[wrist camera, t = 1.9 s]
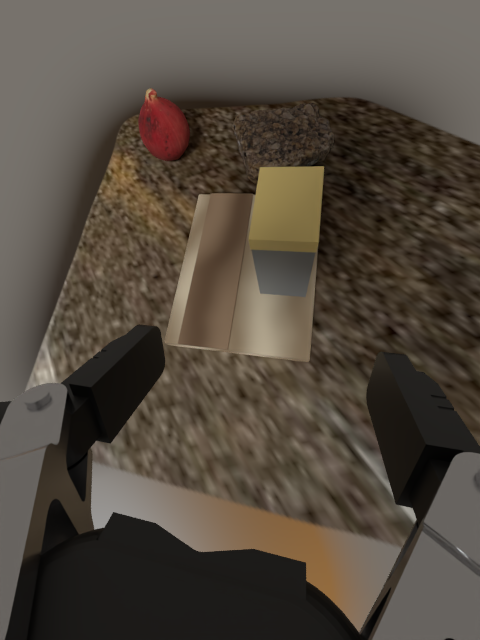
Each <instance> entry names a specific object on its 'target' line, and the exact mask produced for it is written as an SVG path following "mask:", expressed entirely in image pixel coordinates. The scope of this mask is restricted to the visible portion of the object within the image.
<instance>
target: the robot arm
mask: <svg viewBox="0 0 480 640" xmlns="http://www.w3.org/2000/svg"><path fill="white" fill-rule="evenodd" d="M164 367H165V356H164V350H163V344H162V338H161V332H160V329H159V328H158V327H156V326H147V325H137V326H135V327H134V328H133V329H132V330H131V331H129V332H128V333H127V334H126V335H124V336H122V337H120V338H118V339H116V340H114V341H112V342H110V343H109V344H108V345H107V346H105V347H104V348H103V349H102V350H101V352H100V351H99V352H98V353H97V354H96V355H94V356H93V359H92V358H91V359H90V360H88V361H87V362H86V363H85V364H84V365H82V366H81V367H80V368H79V369H78V370H76V371H75V372H74V373H73V374H72V375H70V376H69V377H68V378H67V379H65V380H64V381H63V382H62V383H61V384H60V383H47V384H42V385H39V386H36V387H33V388H31V389H29V390H27V391H25V392H23V393H22V394H20V395H19V396H18V397H16V398H15V399H14V400H13V401H8V402H0V640H480V446H479V445H478V443H477V442H476V440H475V439H474V437H473V436H472V434H471V433H470V431H469V430H468V428H467V427H466V425H465V424H464V422H463V421H462V419H461V418H460V416H459V415H458V413H457V412H456V411H454V407H453V406H452V404H451V403H450V401H449V400H447V399H446V395H445V394H444V393H443V391H442V390H441V388H440V387H439V385H438V384H437V383H436V382H435V381H434V380H432V379H431V378H430V377H429V376H427V375H426V374H425V373H424V372H419V371H416V370H415V368H414V367H413V365H412V363H411V362H410V360H409V358H408V357H407V356H406V355H404V354H395V353H386V352H379V353H378V355H377V357H376V360H375V363H374V367H373V370H372V374H371V377H370V380H369V384H368V387H367V395H366V398H367V406H368V409H369V413H370V416H371V420H372V423H373V427H374V430H375V434H376V437H377V441H378V444H379V447H380V451H381V454H382V458H383V461H384V465H385V468H386V472H387V475H388V479H389V482H390V485H391V489H392V492H393V496H394V499H395V503H396V504H397V505H401V506H406V507H411V508H413V510H414V513H415V516H416V519H417V520H416V522H415V524H414V525H413V527H412V529H411V531H410V533H409V535H408V537H407V540H406V542H405V544H404V546H403V548H402V550H401V552H400V554H399V556H398V558H397V560H396V562H395V564H394V566H393V568H392V570H391V572H390V574H389V576H388V578H387V580H386V582H385V584H384V586H383V588H382V590H381V592H380V594H379V596H378V597H377V600H376V601H375V603H374V605H373V607H372V608H371V610H370V612H369V614H368V616H367V618H366V620H365V622H364V624H363V626H362V628H361V630H360V632H358V631H357V629H356V628H355V627H354V626H353V624H352V623H351V622H350V621H349V619H348V618H347V617H346V616H345V614H344V613H343V612H342V611H341V610H340V609H339V608H338V607H337V606H336V605H335V604H334V603H333V602H332V601H331V600H330V599H329V598H328V597H327V596H326V595H325V594H324V593H322V592H321V591H320V590H318V588H316V587H315V586H313V585H312V584H310V583H309V582H307V581H306V563H305V562H301V561H297V560H293V559H290V558H286V557H282V556H278V555H274V554H271V553H267V552H263V551H259V550H255V549H248V550H247V549H246V550H232V551H231V550H230V551H214V552H198V551H196V550H194V549H192V548H191V547H189V546H188V545H186V544H185V543H183V542H182V541H180V540H179V539H178V538H176V537H175V536H173V535H172V534H170V533H169V532H168V531H166V530H165V529H163V528H162V527H160V526H159V525H157V524H156V523H153V522H149V521H145V520H141V519H137V518H133V517H130V516H126V515H122V514H118V513H114V512H113V514H112V516H111V517H110V519H109V521H108V523H107V524H106V526H105V528H101V529H96V530H94V525H93V521H92V516H91V485H92V450H91V446H92V445H93V444H94V443H95V441H101V442H106V443H111V442H112V441H113V439H114V438H115V437H116V435H117V434H118V433H119V431H120V430H121V429H122V427H123V426H124V425H125V423H126V422H127V420H128V419H129V418H130V416H131V415H132V414H133V412H134V411H135V410H136V408H137V407H138V406H139V404H140V403H141V402H142V400H143V399H144V397H145V396H146V395H147V393H148V392H149V391H150V389H151V388H152V387H153V385H154V384H155V383H156V381H157V380H158V379H159V377H160V376H161V374H162V373H163V370H164Z"/></svg>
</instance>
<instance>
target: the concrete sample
mask: <svg viewBox="0 0 480 640" xmlns="http://www.w3.org/2000/svg"><path fill="white" fill-rule="evenodd" d="M232 129H233V130H234V134H235V135H236V138H237V142H238V147H239V152H240V154H241V156H242V157H243V161H244V165H245V167H246V175H247V177H248V178H249V179H250V180H251V181H252V182H253V183H255V184H257V183H258V177H259V171H260V167H310V166H312V165H314V164H315V163H317V162H322V161H324V160H325V157H326V156H327V154H328V153H329V151H330V148H331V147H333V143H334V133H333V132H332V131H331V128H330V127H329V120H327V119H325V118H323V117H321V116H320V115H319V108H318V106H317V105H314V104H313V103H312V104H310V103H309V104H307V105H306V104H305V103H304V104H300V105H297V106H295V107H294V108H291V109H289V108H281V109H278V110H268V109H267V110H263V111H262V110H259V111H253V112H251V113H250V114H249V113H248V115H241V114H239V115H238V116H237V117H236V118H235V121H234V123H233V126H232Z"/></svg>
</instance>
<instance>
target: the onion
mask: <svg viewBox="0 0 480 640" xmlns="http://www.w3.org/2000/svg"><path fill="white" fill-rule="evenodd" d="M139 130H140V136H141V138H142V141H143V143H144V145H145V146H146V147H147V149H148V150H149V151H150V152H151V154H152V155H154V156H155V157H157V158H159V159H162V160H165V161H172V160H178V159H179V158H180V157H181V156H182V155H183V153H184V152H185V150H186V148H187V147H188V143H189V137H190V130H189V125H188V123H187V120H186V118H185V116H184V114H183V112H182V111H181V110H180V109H179V108H178V107H177V106H176V105H175V104H174V103H172V102H171V101H169V100H167V99H165V98H161V97H157V93H156V91H155V90H153V89H152V88H150V89H149V90H147V91H146V97H145V103H144V104H143V106H142V108H141V111H140V116H139Z"/></svg>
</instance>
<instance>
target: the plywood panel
mask: <svg viewBox="0 0 480 640" xmlns="http://www.w3.org/2000/svg"><path fill="white" fill-rule="evenodd" d="M254 202H255V195H253V194H246V193H211V195H199V197H198V202H197V206H196V210H195V214H194V219H193V223H192V227H191V231H190V235H189V240H188V244H187V248H186V252H185V257H184V261H183V265H182V269H181V274H180V278H179V282H178V286H177V290H176V295H175V299H174V303H173V307H172V312H171V316H170V320H169V324H168V329H167V333H166V337H165V341H164V343H166V344H168V345H173V346H181V347H189V348H197V349H205V350H214V351H222V352H230V353H238V354H246V355H254V356H262V357H270V358H278V359H286V360H294V361H302V362H309V360H310V349H311V335H312V321H313V308H314V294H315V281H316V267H317V253H318V247H317V252H316V253H315V257H314V261H313V266H312V271H311V275H310V280H309V284H308V289H307V293H306V297H298V296H285V295H272V294H260V290H259V285H258V280H257V275H256V270H255V265H254V260H253V255H252V250H250V245H249V240H248V239H249V233H250V226H251V220H252V214H253V208H254Z"/></svg>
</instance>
